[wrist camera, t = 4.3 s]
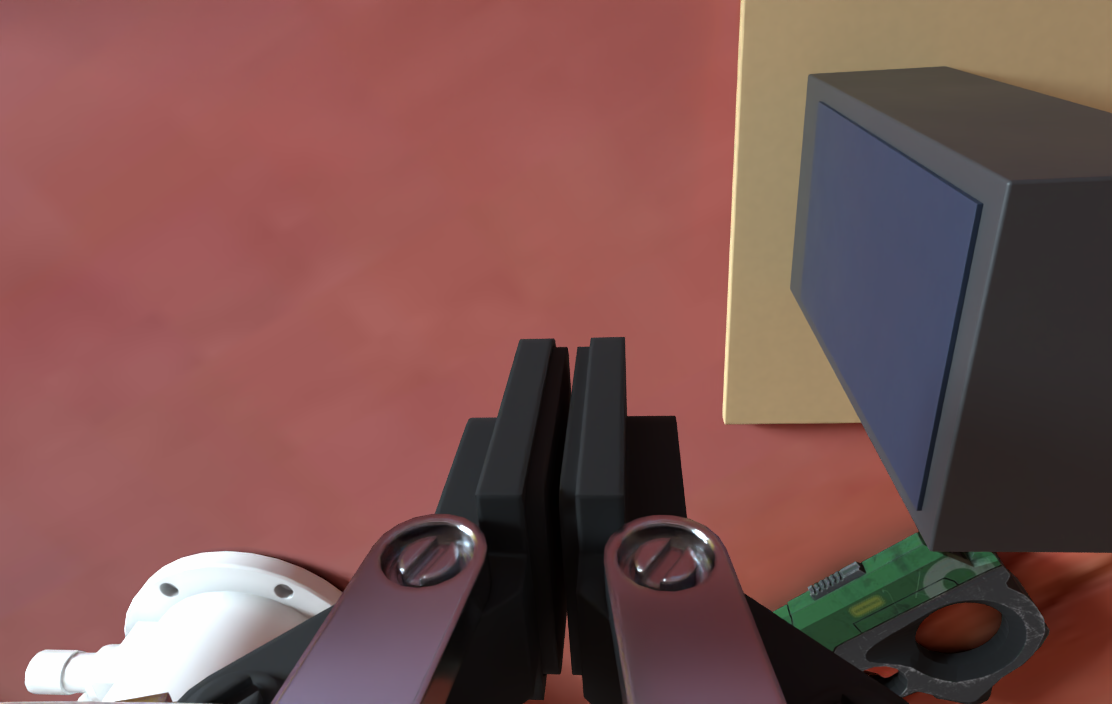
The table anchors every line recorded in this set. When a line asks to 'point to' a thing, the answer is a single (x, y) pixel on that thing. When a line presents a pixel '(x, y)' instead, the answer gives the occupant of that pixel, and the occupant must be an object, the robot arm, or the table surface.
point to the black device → (966, 297)
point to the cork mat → (776, 145)
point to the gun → (920, 619)
